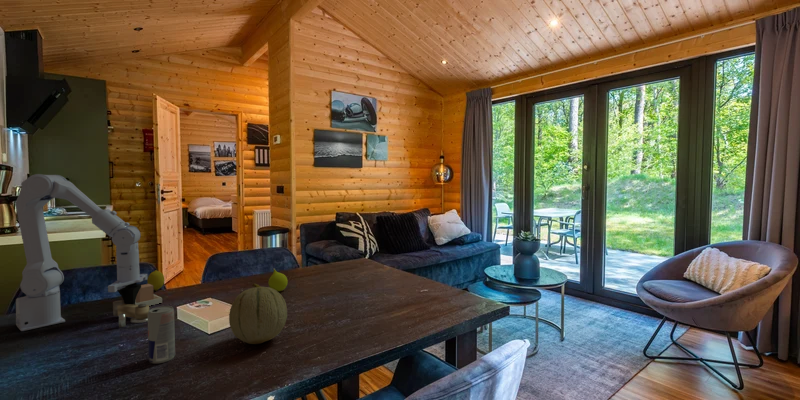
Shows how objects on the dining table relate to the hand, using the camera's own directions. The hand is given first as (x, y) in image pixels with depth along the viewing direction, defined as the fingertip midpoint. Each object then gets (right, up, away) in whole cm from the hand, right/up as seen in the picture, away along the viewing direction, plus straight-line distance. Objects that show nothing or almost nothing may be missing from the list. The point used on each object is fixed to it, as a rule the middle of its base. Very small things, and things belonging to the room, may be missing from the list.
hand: (129, 308), depth 119 cm
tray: (-3, -2, +11) cm, 12 cm away
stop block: (-3, -1, +11) cm, 12 cm away
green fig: (+37, -2, +28) cm, 47 cm away
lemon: (-10, -1, +28) cm, 29 cm away
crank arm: (+2, -2, -2) cm, 3 cm away
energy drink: (+28, -4, -28) cm, 40 cm away
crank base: (+5, -3, -4) cm, 7 cm away
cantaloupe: (+47, -4, -18) cm, 51 cm away
